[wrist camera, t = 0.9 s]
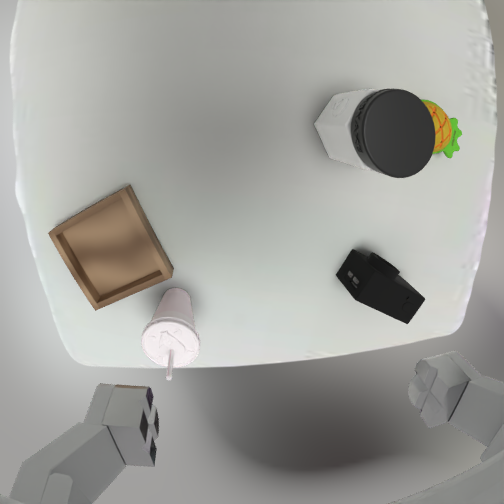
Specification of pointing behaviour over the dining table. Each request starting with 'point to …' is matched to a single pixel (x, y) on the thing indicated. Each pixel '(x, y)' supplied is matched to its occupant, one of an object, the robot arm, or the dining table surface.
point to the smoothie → (172, 332)
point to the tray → (112, 249)
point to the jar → (378, 131)
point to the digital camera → (379, 286)
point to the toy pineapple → (444, 130)
